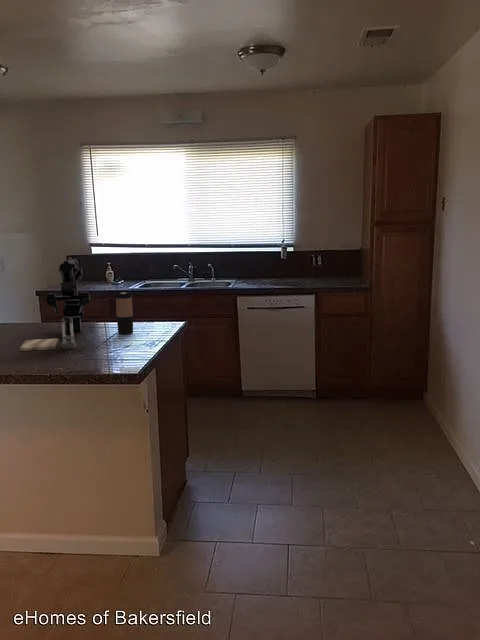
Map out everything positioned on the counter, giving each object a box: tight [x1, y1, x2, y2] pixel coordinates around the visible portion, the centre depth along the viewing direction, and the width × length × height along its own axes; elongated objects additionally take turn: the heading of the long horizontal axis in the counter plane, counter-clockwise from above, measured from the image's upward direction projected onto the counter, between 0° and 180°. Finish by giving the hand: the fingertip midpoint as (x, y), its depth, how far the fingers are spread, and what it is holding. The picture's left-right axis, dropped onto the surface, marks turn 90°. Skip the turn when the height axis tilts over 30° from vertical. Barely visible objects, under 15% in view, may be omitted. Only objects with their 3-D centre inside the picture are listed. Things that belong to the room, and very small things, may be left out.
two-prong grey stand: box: [60, 317, 77, 350], centre depth 230 cm, size 5×5×13 cm
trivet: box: [19, 338, 59, 352], centre depth 234 cm, size 14×14×1 cm
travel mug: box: [115, 290, 134, 336], centre depth 254 cm, size 8×8×20 cm
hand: (68, 313), depth 236 cm, fingers open, 9 cm apart
